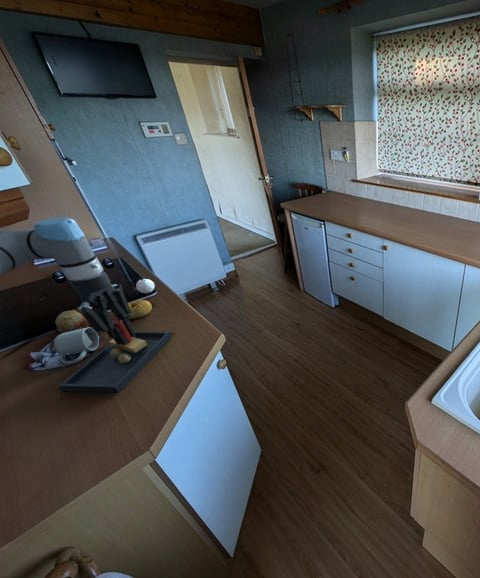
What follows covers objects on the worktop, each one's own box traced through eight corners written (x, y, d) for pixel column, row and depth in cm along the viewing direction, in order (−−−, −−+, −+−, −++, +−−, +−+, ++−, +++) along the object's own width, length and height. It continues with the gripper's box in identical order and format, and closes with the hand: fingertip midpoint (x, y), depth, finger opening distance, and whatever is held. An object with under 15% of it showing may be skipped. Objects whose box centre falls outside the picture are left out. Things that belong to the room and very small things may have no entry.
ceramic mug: (71, 346, 97) (58, 328, 93) (102, 340, 100) (90, 322, 96) (55, 369, 89) (40, 350, 85) (89, 361, 92) (76, 343, 87)
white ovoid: (140, 297, 122) (131, 281, 118) (139, 291, 126) (131, 275, 122) (157, 293, 125) (149, 277, 121) (156, 287, 129) (149, 271, 125)
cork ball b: (117, 365, 89) (113, 358, 88) (125, 358, 92) (121, 351, 90) (127, 365, 89) (123, 358, 88) (134, 358, 92) (130, 351, 90)
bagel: (153, 302, 120) (148, 292, 117) (153, 316, 112) (148, 306, 109) (123, 309, 115) (117, 299, 112) (120, 324, 107) (114, 314, 105)
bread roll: (67, 332, 108) (42, 321, 102) (93, 310, 113) (71, 299, 106) (76, 342, 104) (51, 331, 98) (102, 319, 108) (80, 308, 102)
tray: (63, 391, 82) (58, 385, 81) (127, 335, 102) (124, 330, 101) (118, 392, 82) (114, 387, 81) (172, 336, 102) (169, 331, 101)
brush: (112, 348, 94) (96, 321, 88) (125, 340, 97) (110, 314, 91) (136, 355, 92) (121, 328, 86) (148, 347, 95) (134, 320, 89)
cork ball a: (114, 359, 92) (105, 356, 90) (118, 350, 94) (109, 347, 92) (122, 358, 92) (113, 355, 90) (126, 349, 94) (118, 346, 91)
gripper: (74, 291, 73) (118, 358, 86) (122, 262, 87) (155, 324, 99) (44, 290, 73) (93, 357, 86) (97, 262, 87) (133, 323, 99)
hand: (126, 339), depth 92 cm, fingers closed on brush, 3 cm apart
